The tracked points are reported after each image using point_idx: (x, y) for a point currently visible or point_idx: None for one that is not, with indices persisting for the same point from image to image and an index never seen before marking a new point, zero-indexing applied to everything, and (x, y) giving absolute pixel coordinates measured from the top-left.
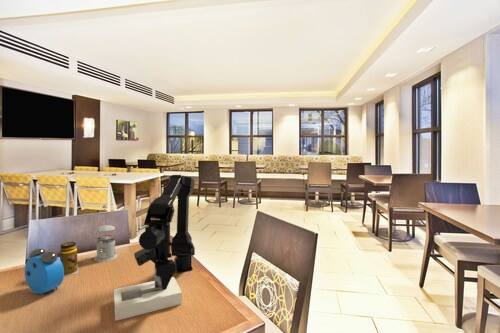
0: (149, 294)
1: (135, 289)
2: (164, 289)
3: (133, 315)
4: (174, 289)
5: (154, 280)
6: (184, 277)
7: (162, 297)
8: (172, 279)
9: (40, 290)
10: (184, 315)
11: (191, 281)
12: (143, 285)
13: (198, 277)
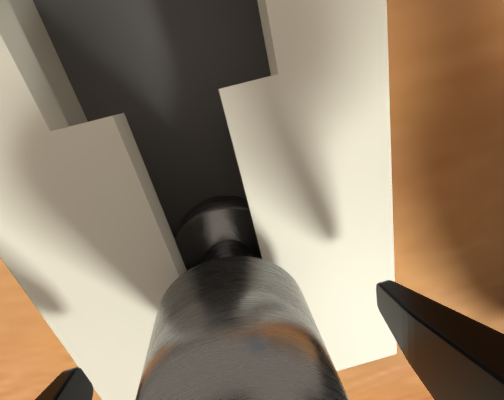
0: (100, 205)
1: (265, 6)
2: (75, 381)
3: None
4: None
5: (221, 306)
6: None
7: (50, 321)
8: (355, 350)
9: None
10: (21, 371)
11: (383, 365)
12: (332, 106)
13: (410, 388)
